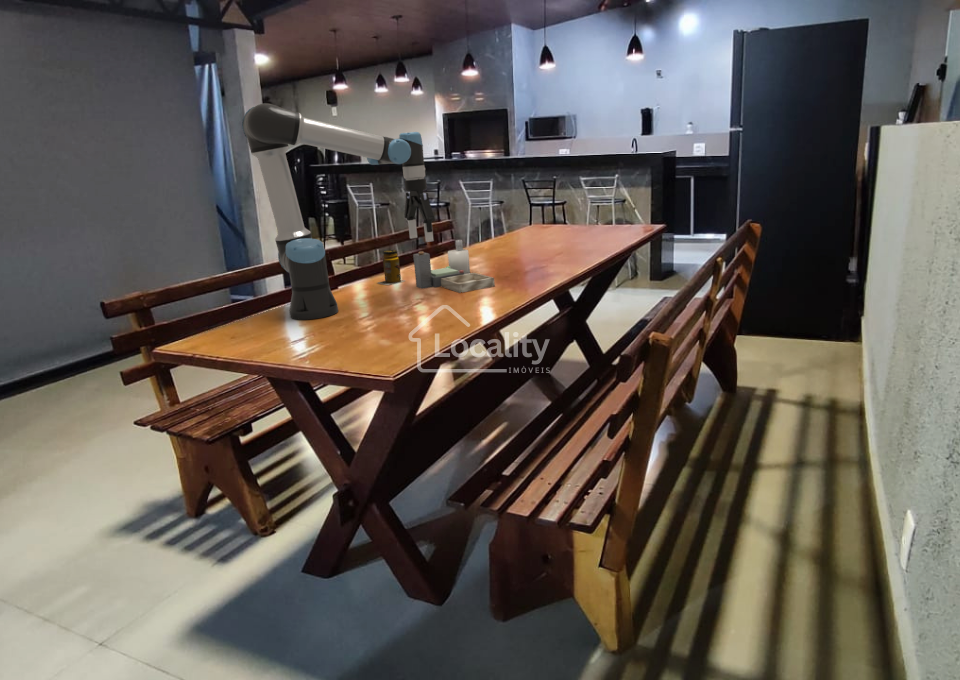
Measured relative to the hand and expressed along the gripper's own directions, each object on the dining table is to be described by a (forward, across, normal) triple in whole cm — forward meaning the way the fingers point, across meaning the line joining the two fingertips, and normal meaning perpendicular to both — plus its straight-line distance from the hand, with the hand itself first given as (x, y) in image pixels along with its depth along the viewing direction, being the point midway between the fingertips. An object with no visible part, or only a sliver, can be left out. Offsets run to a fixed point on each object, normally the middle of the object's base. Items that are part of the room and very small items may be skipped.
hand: (421, 239), depth 239 cm
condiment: (+17, +18, +6) cm, 26 cm away
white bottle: (+17, +11, -20) cm, 28 cm away
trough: (+17, -12, -11) cm, 23 cm away
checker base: (+17, +2, -8) cm, 19 cm away
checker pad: (+14, +2, -8) cm, 16 cm away
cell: (+17, 0, +1) cm, 17 cm away
